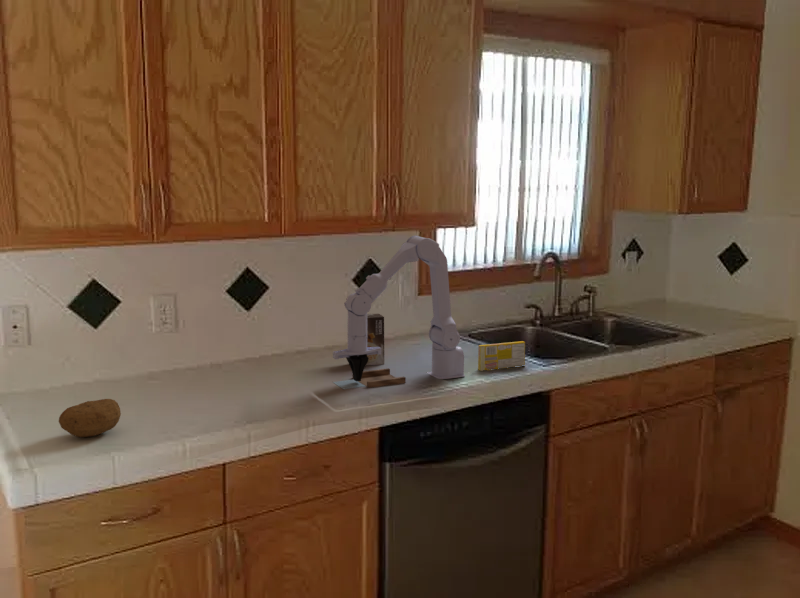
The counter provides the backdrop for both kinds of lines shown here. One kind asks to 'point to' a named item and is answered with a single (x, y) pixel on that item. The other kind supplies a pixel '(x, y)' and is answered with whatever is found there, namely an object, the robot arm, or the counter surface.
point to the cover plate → (349, 384)
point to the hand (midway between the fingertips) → (357, 380)
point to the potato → (90, 418)
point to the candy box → (501, 355)
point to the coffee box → (375, 337)
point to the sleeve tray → (380, 378)
